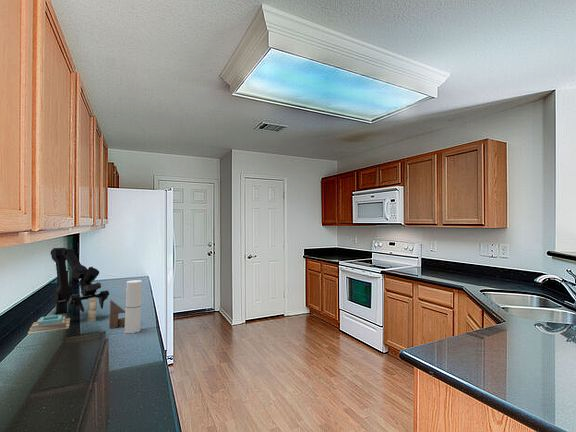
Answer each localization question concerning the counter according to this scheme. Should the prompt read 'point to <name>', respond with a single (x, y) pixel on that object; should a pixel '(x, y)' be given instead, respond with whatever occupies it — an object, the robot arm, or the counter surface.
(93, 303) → the birch dowel
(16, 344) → the counter surface
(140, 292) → the cylindrical container
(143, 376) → the counter surface
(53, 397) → the counter surface
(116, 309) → the wooden block
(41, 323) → the socket block
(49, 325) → the rail base
